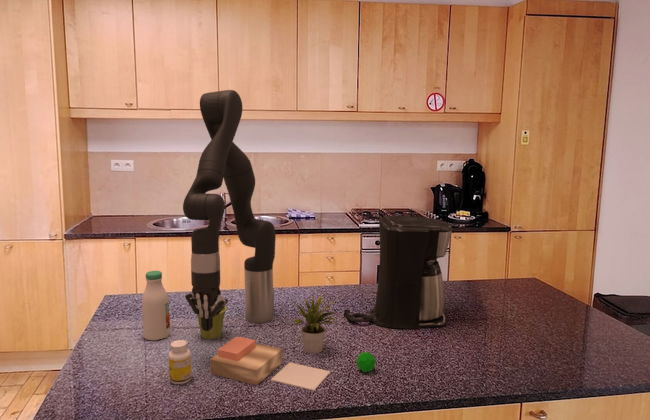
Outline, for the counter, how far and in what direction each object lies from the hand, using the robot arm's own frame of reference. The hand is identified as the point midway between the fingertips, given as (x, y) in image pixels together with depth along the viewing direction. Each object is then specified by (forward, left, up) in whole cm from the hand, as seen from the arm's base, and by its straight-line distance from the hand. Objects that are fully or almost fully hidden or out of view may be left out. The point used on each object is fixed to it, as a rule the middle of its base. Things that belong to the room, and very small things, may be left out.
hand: (207, 329), depth 136 cm
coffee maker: (-53, +38, -9) cm, 66 cm away
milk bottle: (-6, -24, -9) cm, 26 cm away
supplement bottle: (+12, 0, -9) cm, 15 cm away
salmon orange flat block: (0, +9, -5) cm, 10 cm away
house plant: (-16, +23, -9) cm, 30 cm away
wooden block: (0, +12, -9) cm, 15 cm away
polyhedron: (-12, +41, -9) cm, 44 cm away
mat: (-2, +27, -9) cm, 29 cm away
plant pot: (-13, -9, -9) cm, 18 cm away
